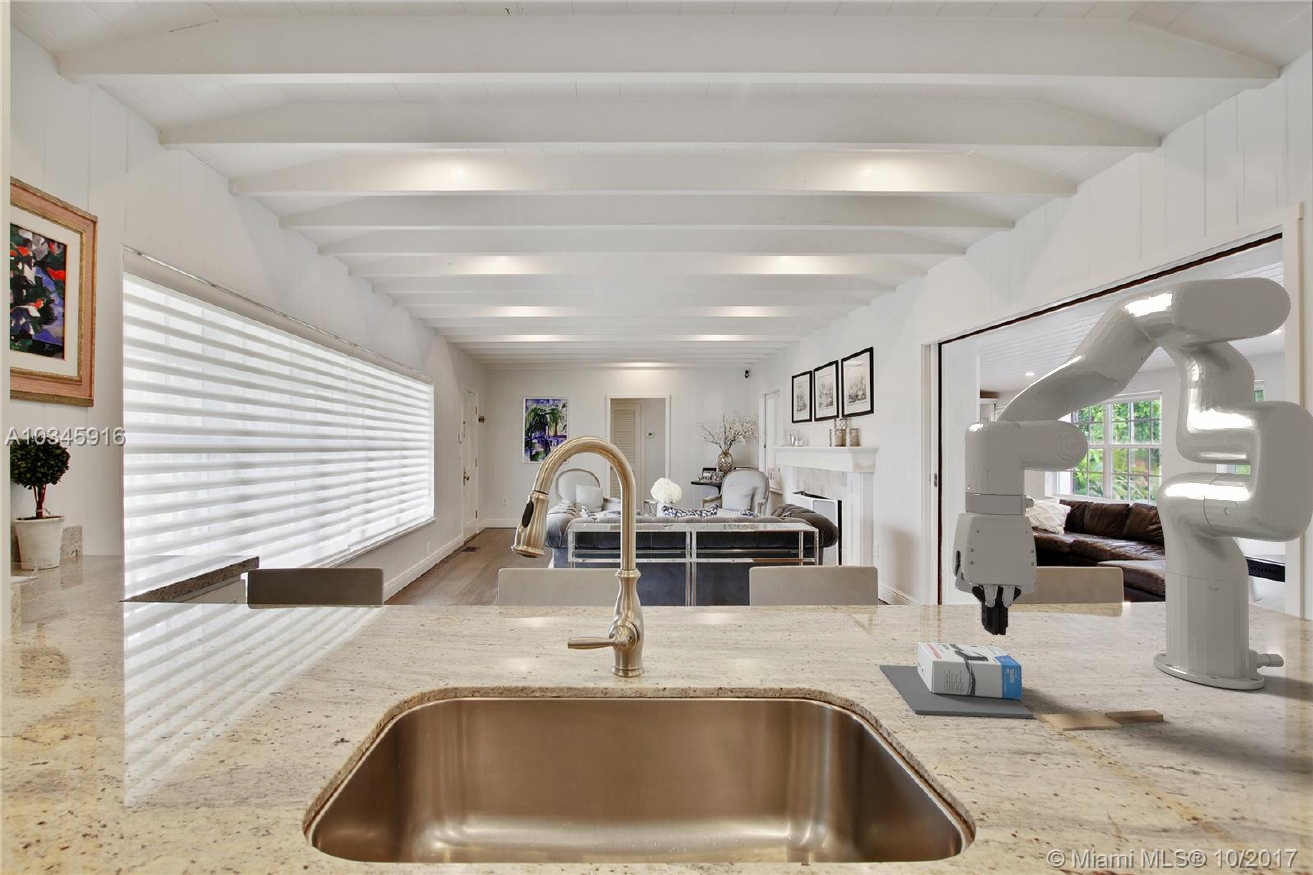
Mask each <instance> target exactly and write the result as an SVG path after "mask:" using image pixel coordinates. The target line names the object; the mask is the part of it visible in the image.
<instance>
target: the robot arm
mask: <svg viewBox="0 0 1313 875" xmlns="http://www.w3.org/2000/svg"><path fill="white" fill-rule="evenodd" d="M1291 308H1292V303H1291V298H1290V296H1289V293H1288V291H1287V290H1286V289H1285V288H1284V287H1283V286H1282V285H1281V284H1280V283H1278V282H1277V281H1275V280H1272V279H1270V278H1266V277H1261V276H1255V277H1254V276H1253V277H1235V278H1234V277H1233V278H1217V279H1216V278H1215V279H1213V278H1212V279H1210V278H1209V279H1198V280H1197V279H1196V280H1187V281H1180V282H1176V283H1173V284H1169V285H1165V286H1160V287H1157V288H1153V289H1148V290H1144V291H1140V292H1137V293H1134V294H1133V293H1132V294H1130V295H1127V296H1124V297H1122V298H1120V299H1118V300H1117V301H1115V302H1114V303H1112V305H1110V306H1109V307H1108V309H1106V311H1105V312H1104V313H1103V314H1102V316H1101V317H1100V318H1099V319H1098V320H1097V322H1096V323H1095V325H1094V326H1093V327H1092V328H1091V330H1090V331H1089V332H1088V333H1087V335H1086V336H1085V337H1084V338H1083V339H1082V341H1081V342H1080V343H1079V345H1078V346H1077V347H1076V348H1075V350H1073V352H1072V353H1071V355H1070V356H1069V357H1068V358H1067V359H1066V360H1065V361H1064V362H1062V364H1060V365H1058V366H1057V367H1055V368H1053V369H1052V370H1051V371H1049V372H1048V373H1045V375H1043V376H1042V377H1040V378H1039V379H1038V380H1036V381H1035V382H1033V383H1031V384H1030V385H1028V386H1027V387H1026V388H1024V389H1023V390H1022V391H1021V392H1019V393H1018V394H1016V395H1015V396H1014V397H1013V398H1012V399H1011V400H1010V401H1008V403H1007V404H1006V405H1005V406H1004V407H1003V409H1002V410H1001V411H1000V412H999V414H998V415H997V416H996V417H995V418H994V420H990V421H989V420H987V421H982V420H981V421H976V422H975V421H974V422H972V423H969V424H968V425H967V427H966V428H965V434H964V486H965V487H964V488H965V489H964V491H965V492H964V499H965V500H964V508H965V509H964V513H958V518H957V521H956V526H955V532H954V538H953V539H954V540H953V547H952V559H951V560H952V561H951V566H952V567H951V568H952V570H951V571H952V574H953V575H954V576H955V582H954V588H955V589H956V590H959V591H961V592H964V593H966V594H967V593H968V594H971V595H973V596H974V597H975V598H976V599H977V601H978V602H980V604H981V607H980V609H981V613H980V614H981V616H980V618H981V620H980V621H981V625H982V626H983V628H984V630H985V631H986V632H988V633H989V634H991V635H993V636H998V635H1000V636H1006V635H1007V628H1009V608H1011V607H1012V606H1013V602H1015V600H1016V599H1017V598H1019V597H1020V596H1021V595H1027V594H1032V593H1035V591H1036V586H1035V582H1036V580H1037V571H1038V570H1037V564H1038V563H1037V551H1036V543H1035V542H1036V541H1035V536H1034V531H1033V528H1032V524H1031V519H1030V517H1029V516H1027V515H1025V514H1026V513H1027V509H1028V508H1033V507H1034V506H1035V502H1034V499H1033V498H1028V497H1027V495H1026V494H1025V471H1034V472H1050V473H1056V472H1057V473H1058V472H1064V471H1065V472H1066V471H1068V470H1071V469H1074V468H1076V467H1077V466H1079V465H1080V464H1081V463H1082V462H1083V461H1084V459H1085V458H1086V456H1087V454H1088V451H1089V442H1088V438H1087V436H1086V434H1085V433H1084V431H1082V430H1081V428H1080V427H1078V426H1076V425H1075V424H1073V423H1072V422H1068V421H1065V420H1064V421H1063V420H1060V419H1062V418H1064V417H1065V416H1067V415H1070V414H1073V413H1075V412H1078V411H1080V410H1084V409H1086V408H1089V407H1092V406H1095V405H1097V404H1100V403H1102V402H1105V401H1107V400H1109V399H1112V398H1114V397H1115V396H1118V395H1119V394H1121V393H1122V392H1123V391H1124V390H1125V389H1126V388H1127V387H1128V385H1129V384H1130V382H1132V380H1133V379H1134V378H1135V377H1136V375H1137V373H1138V372H1139V370H1141V368H1142V367H1143V365H1144V364H1145V363H1146V362H1147V360H1148V359H1149V358H1150V357H1151V355H1152V354H1153V353H1154V351H1155V350H1156V349H1157V348H1161V349H1162V350H1163V351H1164V352H1165V353H1166V354H1167V355H1168V356H1169V357H1170V359H1171V360H1172V361H1173V363H1174V364H1175V366H1176V368H1177V370H1178V373H1179V376H1180V390H1179V401H1178V411H1177V419H1176V427H1175V428H1176V429H1175V430H1176V432H1175V444H1176V445H1175V446H1176V449H1177V451H1178V454H1179V455H1180V456H1181V457H1182V458H1184V459H1186V460H1187V461H1189V462H1194V463H1199V464H1208V465H1226V466H1228V465H1229V466H1230V465H1232V466H1251V467H1250V468H1251V474H1246V473H1245V474H1244V473H1230V472H1209V471H1207V472H1206V471H1204V472H1203V471H1197V472H1196V471H1193V472H1191V471H1190V472H1183V473H1179V474H1175V475H1173V476H1170V477H1168V478H1167V479H1165V480H1164V481H1163V482H1162V483H1161V484H1160V486H1159V488H1158V489H1157V492H1156V499H1155V501H1156V509H1157V513H1158V516H1159V521H1160V524H1161V528H1162V534H1163V538H1164V539H1163V541H1164V556H1165V570H1164V571H1165V572H1164V574H1165V652H1162V653H1158V654H1155V655H1154V656H1153V664H1154V666H1155V667H1156V668H1157V669H1159V670H1160V671H1162V672H1164V673H1167V674H1169V675H1171V676H1174V677H1177V678H1180V679H1182V680H1186V681H1190V682H1193V683H1197V684H1202V685H1207V686H1210V687H1218V688H1224V689H1233V690H1257V689H1261V688H1263V687H1264V686H1265V677H1264V676H1263V675H1262V674H1261V673H1260V672H1258V669H1261V668H1262V667H1266V668H1282V667H1283V666H1284V665H1285V661H1284V659H1283V657H1282V656H1281V655H1280V654H1277V653H1258V651H1256V650H1254V649H1251V648H1250V607H1249V606H1250V605H1249V604H1250V601H1249V600H1250V597H1249V595H1250V593H1249V591H1250V590H1249V566H1248V561H1247V559H1246V556H1245V554H1244V552H1243V551H1242V549H1241V547H1240V545H1239V544H1238V543H1237V542H1236V540H1235V539H1234V538H1237V539H1239V538H1240V539H1246V540H1255V541H1263V542H1272V543H1285V542H1290V541H1294V540H1296V539H1298V538H1300V537H1301V536H1303V535H1304V534H1305V533H1306V532H1307V530H1308V528H1309V527H1310V524H1311V522H1312V518H1313V415H1312V414H1311V413H1310V411H1309V410H1308V409H1307V408H1305V407H1304V406H1302V405H1301V404H1298V403H1295V402H1292V401H1287V400H1259V401H1258V400H1257V401H1254V400H1255V399H1254V396H1255V372H1254V369H1253V366H1252V364H1251V363H1250V362H1249V360H1248V359H1247V358H1246V356H1244V355H1243V354H1242V353H1241V352H1240V351H1239V350H1238V349H1236V348H1235V347H1234V346H1233V345H1232V344H1230V343H1229V342H1233V341H1241V340H1248V339H1253V338H1259V337H1263V336H1267V335H1270V334H1271V333H1274V332H1275V331H1277V330H1278V329H1279V328H1281V326H1283V325H1284V323H1285V322H1286V321H1287V320H1288V317H1289V316H1290V312H1291ZM993 586H994V587H995V590H994V587H993Z"/></svg>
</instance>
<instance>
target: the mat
mask: <svg viewBox="0 0 1313 875" xmlns="http://www.w3.org/2000/svg"><path fill="white" fill-rule="evenodd" d="M917 666H918V665H893V664H892V665H891V664H890V665H889V664H879V669H880V671H881V672H882V673H883V675H884V676H885V677H886V678H887V679H888V681H889V682H890V684H891V685H892V686H893V687H894V689H895V690H896V691H897V692H898V693H899V695H900V696H901V697H902V699H903V700H904V701H905V702H906V703H907V705H908V706H909V708H910V709H911V710H912V711H913V713H914V714H916V715H918V714H919V715H940V716H941V715H942V716H965V717H967V716H968V717H969V716H970V717H988V718H989V717H992V718H995V717H996V718H1016V719H1017V718H1019V719H1034V713H1032V712H1031V711H1030V710H1029V709H1027V708H1026V707H1025V706H1024V705H1022V704H1021V702H1019V701H1018V700H1017V699H1010V698H996V697H982V696H969V695H955V694H940V693H933V692H930V690H929V689H928V687H927V686H926V684H925V683H924V681H923V679H922V678H921V676H920V675H919V673H918V668H917Z"/></svg>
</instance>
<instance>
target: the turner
mask: <svg viewBox="0 0 1313 875" xmlns="http://www.w3.org/2000/svg"><path fill="white" fill-rule="evenodd" d="M1041 718H1042V719H1044V720H1045V721H1047V722H1048V723H1050V724H1052V725H1053V726H1055V727H1057V729H1060V730H1061V731H1074V730H1075V731H1078V730H1101V729H1103V730H1104V729H1121V728H1122V724H1133V723H1150V722H1152V723H1153V722H1163V721H1164V714H1163V713H1160V712H1159V711H1156V710H1154V709H1146V710H1145V709H1144V710H1143V709H1142V710H1127V711H1126V710H1125V711H1111V712H1110V711H1107V712H1103V713H1100V712H1099V711H1088V712H1071V713H1069V712H1068V713H1056V714H1055V713H1054V714H1041Z"/></svg>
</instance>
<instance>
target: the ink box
mask: <svg viewBox="0 0 1313 875" xmlns="http://www.w3.org/2000/svg"><path fill="white" fill-rule="evenodd" d="M916 666H917V668H918V673H919V675H920V676H921V678H922V679H923V681H924V683H925V684H926V686H927V687H928V689H929V690H930V692H933V693H940V694H955V695H969V696H982V697H996V698H1010V699H1015V700H1022V699H1023V681H1022V680H1023V679H1022V675H1023V674H1022V670H1023V668H1022V665H1021V664H1020V663H1019V662H1017V661H1016V660H1015V659H1014V658H1013V657H1011V656H1010V654H1008V653H1007V652H1006V651H1004V650H1003V649H1002V648H1001V647H1000V646H992V645H973V644H972V645H971V644H957V643H956V644H955V643H944V642H941V643H940V642H926V641H925V642H924V641H918V642H917V665H916Z"/></svg>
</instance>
